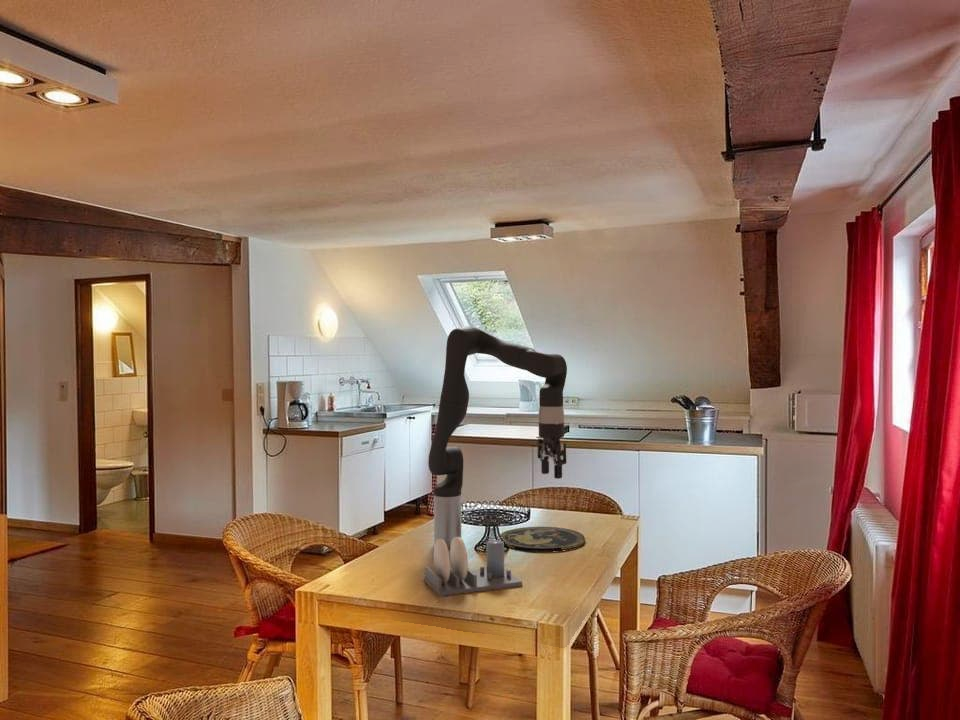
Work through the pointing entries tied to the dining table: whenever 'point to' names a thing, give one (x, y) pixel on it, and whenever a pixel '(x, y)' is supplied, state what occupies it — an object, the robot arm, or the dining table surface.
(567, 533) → the decorative plate
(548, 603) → the dining table surface
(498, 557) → the grey dome-topped cylinder
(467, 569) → the dish rack
